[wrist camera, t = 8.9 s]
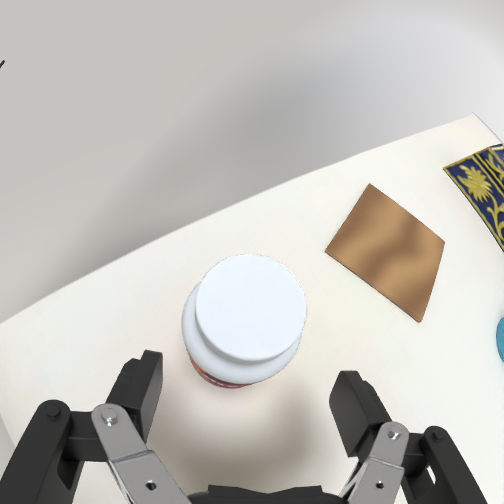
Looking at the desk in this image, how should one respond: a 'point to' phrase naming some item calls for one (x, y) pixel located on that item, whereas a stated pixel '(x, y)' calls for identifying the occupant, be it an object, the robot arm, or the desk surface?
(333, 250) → the shiny brown mat
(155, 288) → the desk surface
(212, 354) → the pill bottle
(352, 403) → the robot arm
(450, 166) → the decorative box
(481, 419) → the desk surface
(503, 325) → the cup
